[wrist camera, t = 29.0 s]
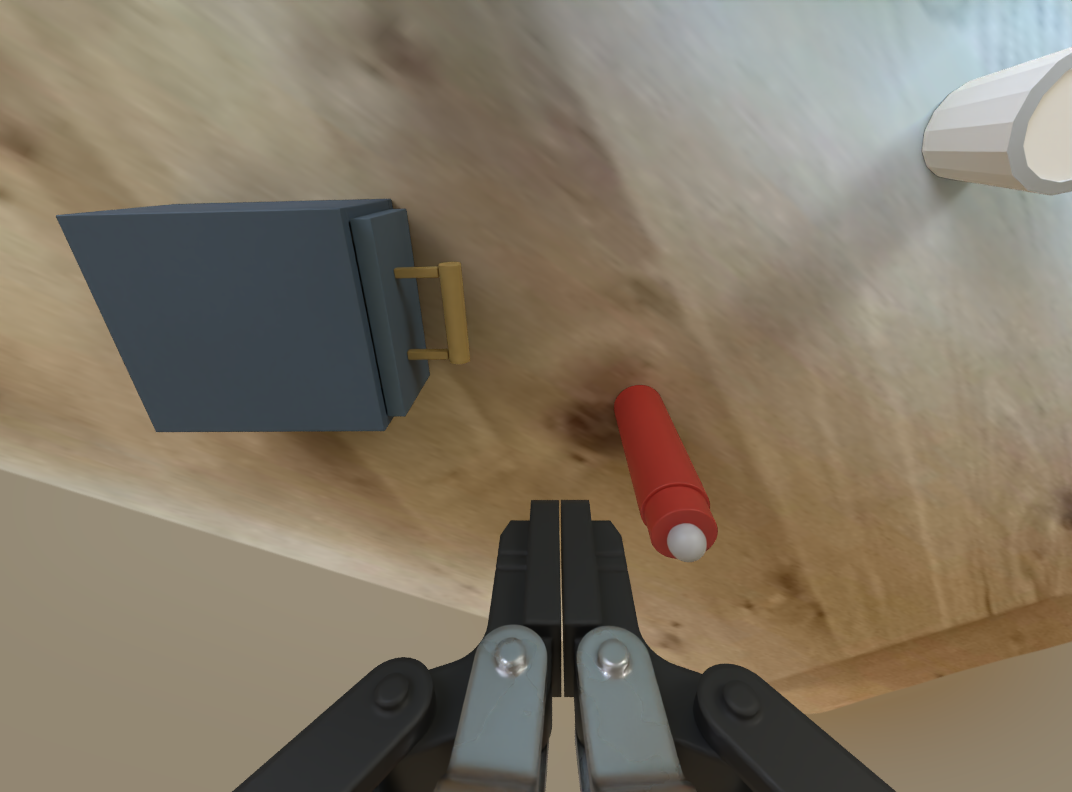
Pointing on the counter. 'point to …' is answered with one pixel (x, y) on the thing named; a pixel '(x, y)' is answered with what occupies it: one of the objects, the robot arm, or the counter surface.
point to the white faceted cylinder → (1008, 128)
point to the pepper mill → (663, 477)
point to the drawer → (403, 306)
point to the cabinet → (237, 312)
